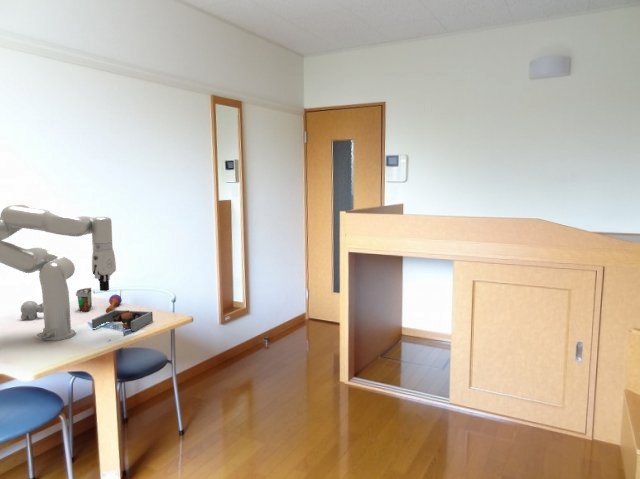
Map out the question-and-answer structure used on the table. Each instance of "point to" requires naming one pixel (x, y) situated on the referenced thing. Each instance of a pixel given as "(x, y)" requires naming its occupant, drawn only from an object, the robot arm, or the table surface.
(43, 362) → the table surface
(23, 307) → the chubby cartoon animal
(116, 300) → the kendama
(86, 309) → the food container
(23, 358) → the table surface
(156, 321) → the table surface
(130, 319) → the pottery mug
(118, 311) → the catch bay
